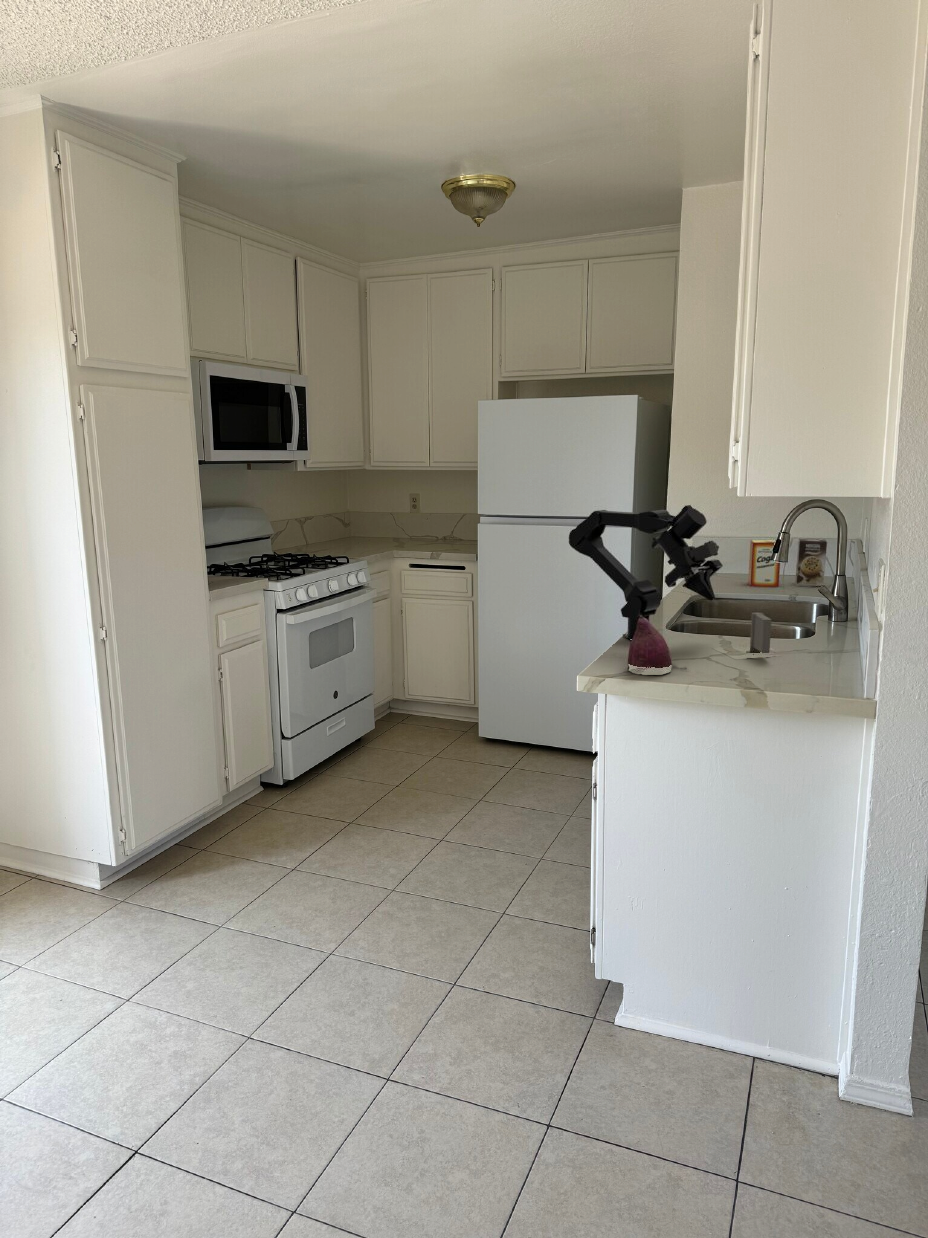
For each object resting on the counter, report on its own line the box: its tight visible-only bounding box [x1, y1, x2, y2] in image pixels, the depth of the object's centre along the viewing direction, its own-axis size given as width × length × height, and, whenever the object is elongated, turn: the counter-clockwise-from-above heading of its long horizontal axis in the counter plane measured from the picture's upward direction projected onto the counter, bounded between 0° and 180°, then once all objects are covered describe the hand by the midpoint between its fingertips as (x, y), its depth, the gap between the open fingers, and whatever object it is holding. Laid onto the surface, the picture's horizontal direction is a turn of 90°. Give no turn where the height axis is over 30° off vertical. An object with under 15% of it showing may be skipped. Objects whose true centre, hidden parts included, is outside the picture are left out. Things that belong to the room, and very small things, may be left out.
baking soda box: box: [747, 539, 781, 588], centre depth 306 cm, size 10×6×16 cm
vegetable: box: [627, 615, 673, 668], centre depth 201 cm, size 10×10×15 cm
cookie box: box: [794, 538, 828, 587], centre depth 304 cm, size 9×6×16 cm
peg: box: [749, 612, 774, 653], centre depth 208 cm, size 6×8×10 cm
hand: (713, 599), depth 215 cm, fingers closed
